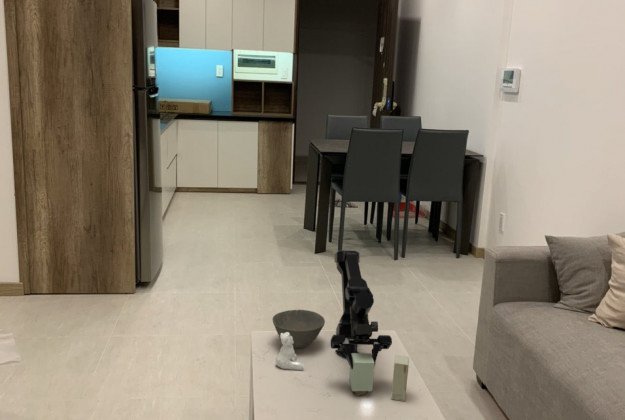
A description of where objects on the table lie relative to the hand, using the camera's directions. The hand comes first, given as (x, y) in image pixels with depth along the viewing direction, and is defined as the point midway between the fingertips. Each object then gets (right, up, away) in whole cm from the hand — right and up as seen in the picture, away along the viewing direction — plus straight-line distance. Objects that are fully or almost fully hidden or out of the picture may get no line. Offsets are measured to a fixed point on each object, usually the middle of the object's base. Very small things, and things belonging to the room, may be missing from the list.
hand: (362, 368), depth 191 cm
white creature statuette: (-24, -4, +18) cm, 30 cm away
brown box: (-1, -8, +3) cm, 9 cm away
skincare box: (+11, -9, +3) cm, 15 cm away
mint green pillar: (0, -6, +3) cm, 7 cm away
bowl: (-21, 0, +33) cm, 39 cm away
